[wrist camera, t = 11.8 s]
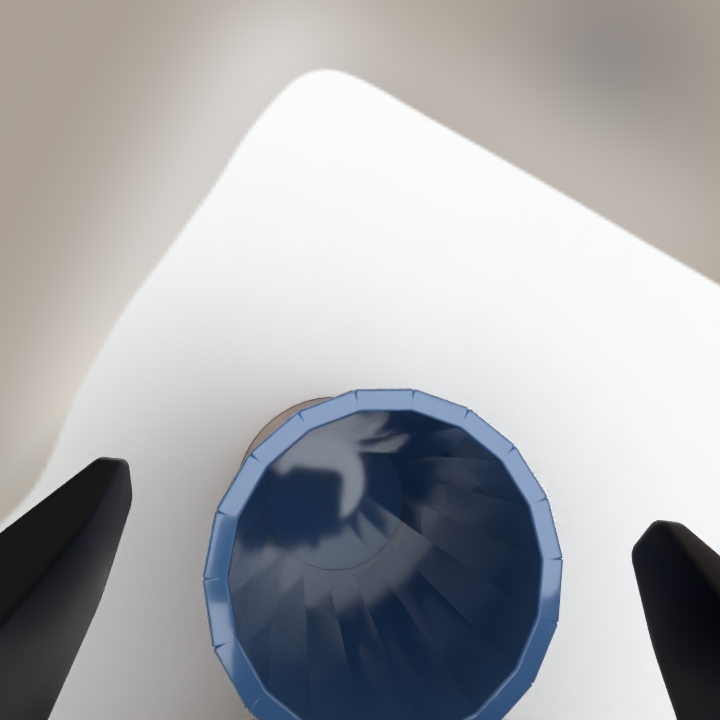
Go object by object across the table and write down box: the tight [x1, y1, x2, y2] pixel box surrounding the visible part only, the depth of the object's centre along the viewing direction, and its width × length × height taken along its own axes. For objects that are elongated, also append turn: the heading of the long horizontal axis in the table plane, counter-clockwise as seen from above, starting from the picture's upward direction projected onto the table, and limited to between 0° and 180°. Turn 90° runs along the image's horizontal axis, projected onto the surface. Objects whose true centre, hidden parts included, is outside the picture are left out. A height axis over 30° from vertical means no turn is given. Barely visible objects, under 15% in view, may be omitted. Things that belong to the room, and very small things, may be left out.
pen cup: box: [203, 389, 563, 720], centre depth 15 cm, size 6×6×12 cm
